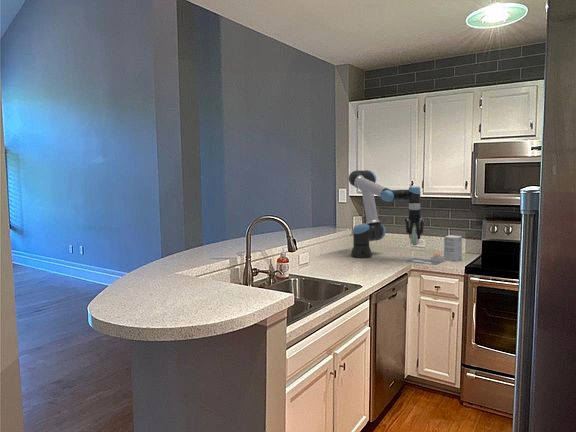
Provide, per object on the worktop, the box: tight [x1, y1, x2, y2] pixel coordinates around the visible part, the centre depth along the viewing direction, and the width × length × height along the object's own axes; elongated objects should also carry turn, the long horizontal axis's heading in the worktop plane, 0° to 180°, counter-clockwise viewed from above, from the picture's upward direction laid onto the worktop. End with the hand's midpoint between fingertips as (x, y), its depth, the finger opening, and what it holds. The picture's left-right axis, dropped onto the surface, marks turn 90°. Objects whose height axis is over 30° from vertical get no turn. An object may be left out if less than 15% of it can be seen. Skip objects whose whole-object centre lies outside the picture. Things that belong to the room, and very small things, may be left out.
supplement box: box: [443, 234, 463, 262], centre depth 286 cm, size 10×9×17 cm
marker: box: [411, 226, 418, 246], centre depth 285 cm, size 4×4×12 cm
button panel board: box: [404, 255, 446, 266], centre depth 283 cm, size 22×16×4 cm
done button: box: [433, 252, 441, 257], centre depth 282 cm, size 4×4×4 cm
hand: (414, 243), depth 285 cm, fingers closed on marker, 3 cm apart
